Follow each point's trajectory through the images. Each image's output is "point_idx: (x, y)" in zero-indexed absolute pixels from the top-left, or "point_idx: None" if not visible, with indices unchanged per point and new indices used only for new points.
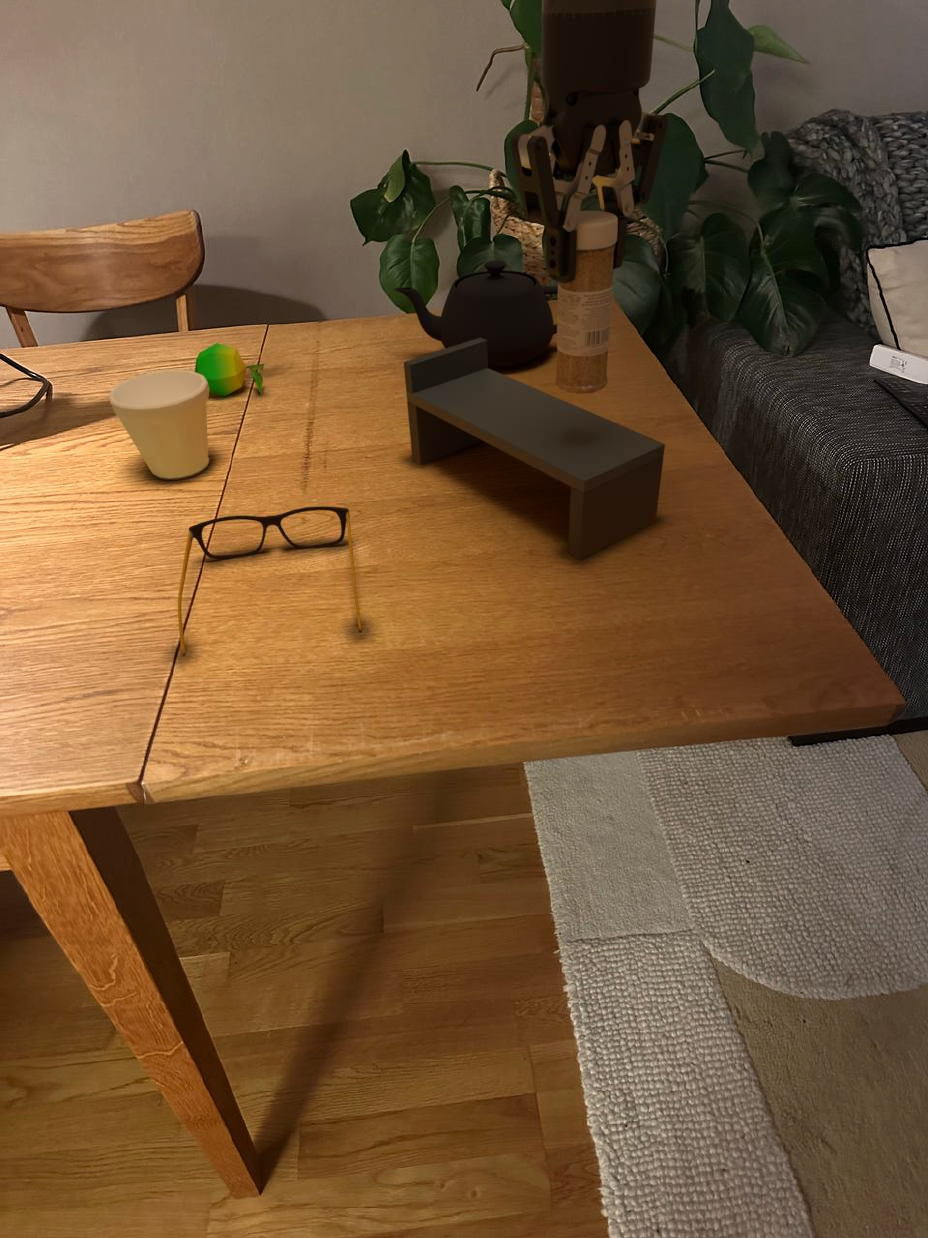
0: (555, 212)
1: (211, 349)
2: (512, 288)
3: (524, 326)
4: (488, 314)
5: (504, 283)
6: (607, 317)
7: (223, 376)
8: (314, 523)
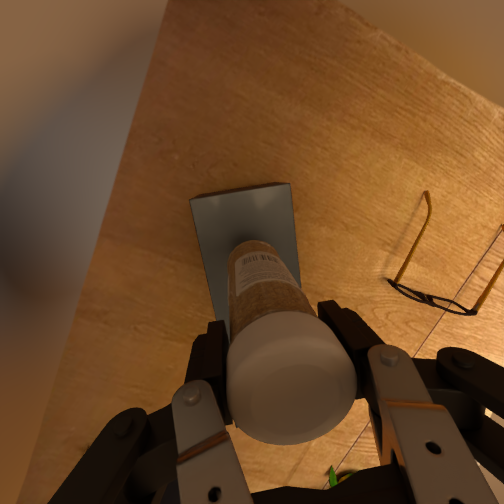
0: (464, 368)
1: None
2: None
3: None
4: (169, 490)
5: None
6: (250, 266)
7: None
8: (384, 309)
